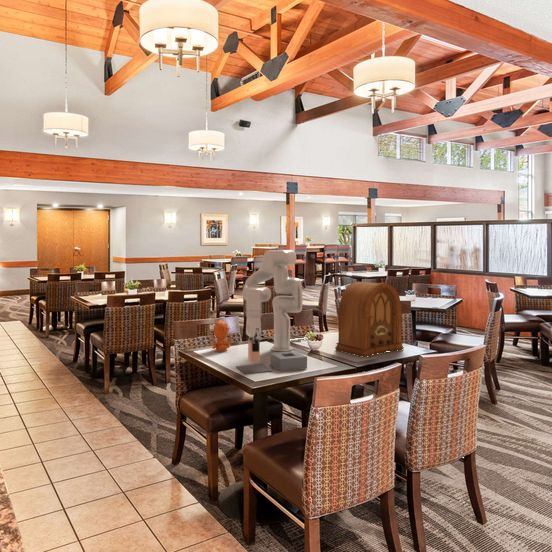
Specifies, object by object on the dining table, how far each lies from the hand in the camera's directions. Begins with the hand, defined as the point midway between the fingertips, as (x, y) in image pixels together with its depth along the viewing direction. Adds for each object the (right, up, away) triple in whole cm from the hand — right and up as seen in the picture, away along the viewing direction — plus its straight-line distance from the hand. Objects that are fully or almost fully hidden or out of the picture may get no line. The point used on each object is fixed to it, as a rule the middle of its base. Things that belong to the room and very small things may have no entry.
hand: (253, 349), depth 234 cm
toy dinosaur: (-21, -7, +43) cm, 48 cm away
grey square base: (+17, -9, +6) cm, 21 cm away
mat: (0, -10, +1) cm, 10 cm away
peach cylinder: (0, -5, 0) cm, 5 cm away
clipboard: (+17, -6, +80) cm, 82 cm away
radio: (+65, -7, +45) cm, 80 cm away
